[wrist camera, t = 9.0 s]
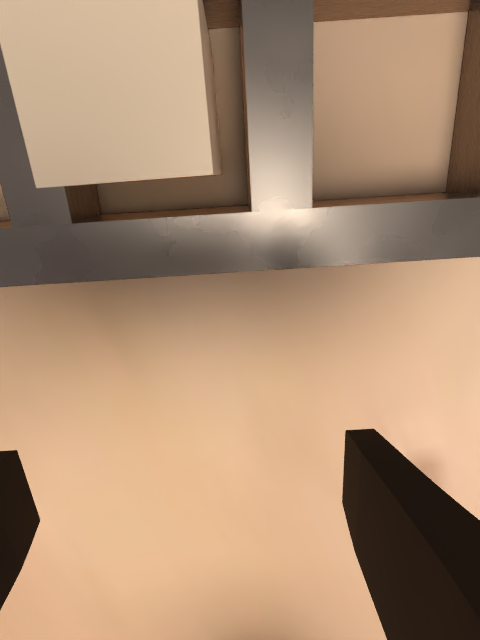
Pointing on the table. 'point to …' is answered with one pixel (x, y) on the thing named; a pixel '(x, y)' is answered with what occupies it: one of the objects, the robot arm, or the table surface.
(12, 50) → the peg
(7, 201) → the grey metal slotted frame
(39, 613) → the table surface
